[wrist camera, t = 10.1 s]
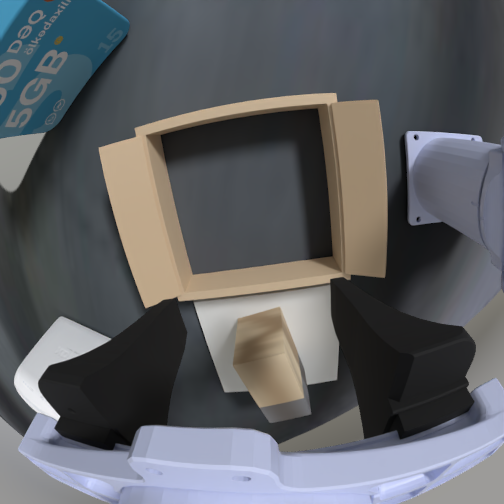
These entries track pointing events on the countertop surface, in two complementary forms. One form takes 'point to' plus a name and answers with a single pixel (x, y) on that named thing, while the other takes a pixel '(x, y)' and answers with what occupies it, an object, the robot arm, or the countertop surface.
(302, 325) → the mat
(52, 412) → the photo printer
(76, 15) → the data package
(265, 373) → the capped block
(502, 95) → the countertop surface
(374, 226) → the carton
